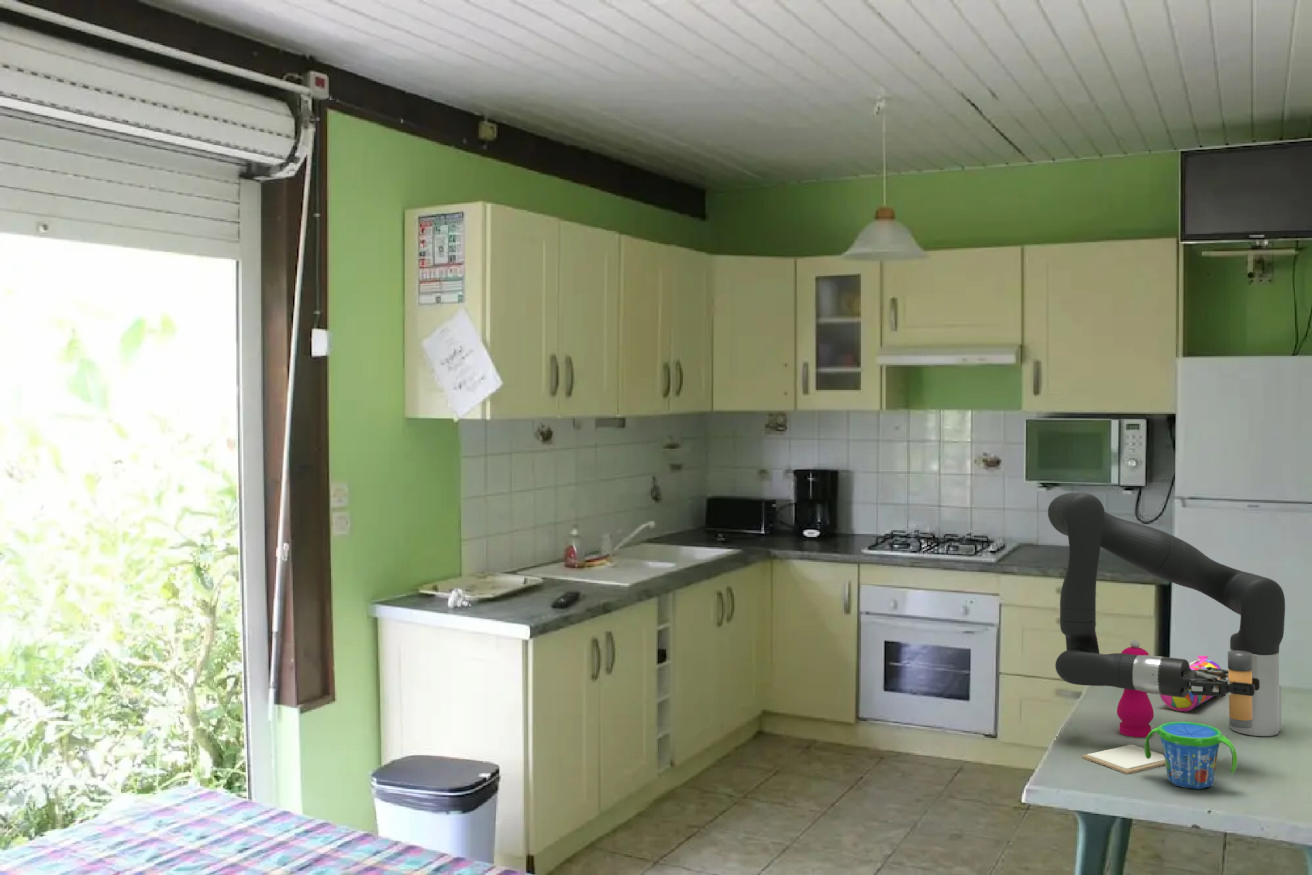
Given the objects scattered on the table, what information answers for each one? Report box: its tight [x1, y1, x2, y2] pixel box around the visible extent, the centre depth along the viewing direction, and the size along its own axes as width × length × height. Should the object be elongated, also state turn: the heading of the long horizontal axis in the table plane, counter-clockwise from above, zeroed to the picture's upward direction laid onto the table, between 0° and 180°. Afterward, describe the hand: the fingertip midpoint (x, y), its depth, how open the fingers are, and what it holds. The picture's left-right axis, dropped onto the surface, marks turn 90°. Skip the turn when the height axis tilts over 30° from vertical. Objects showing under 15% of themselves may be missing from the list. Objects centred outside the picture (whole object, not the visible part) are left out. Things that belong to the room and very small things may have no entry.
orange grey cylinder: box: [1227, 650, 1253, 728], centre depth 215 cm, size 4×4×14 cm
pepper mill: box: [1116, 639, 1155, 738], centre depth 238 cm, size 7×7×20 cm
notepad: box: [1081, 743, 1166, 775], centre depth 222 cm, size 14×11×1 cm
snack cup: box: [1143, 721, 1238, 790], centre depth 208 cm, size 16×10×10 cm
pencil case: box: [1159, 655, 1222, 712], centre depth 261 cm, size 22×9×9 cm, turn 140°
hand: (1256, 687), depth 213 cm, fingers closed on orange grey cylinder, 4 cm apart
